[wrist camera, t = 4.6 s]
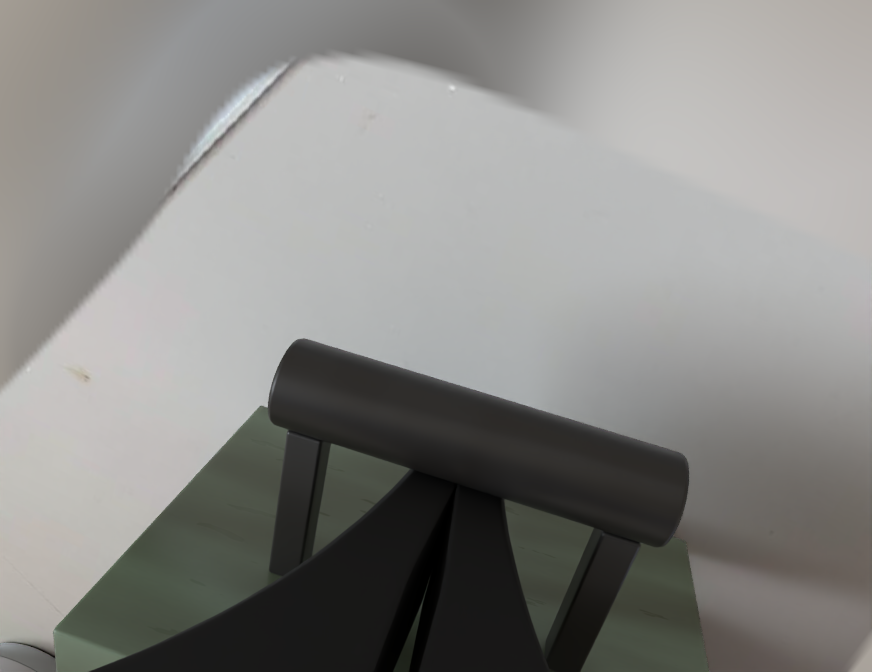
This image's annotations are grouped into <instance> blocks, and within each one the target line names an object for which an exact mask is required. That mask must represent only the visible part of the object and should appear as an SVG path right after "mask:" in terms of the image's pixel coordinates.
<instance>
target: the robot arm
mask: <svg viewBox="0 0 872 672" xmlns="http://www.w3.org/2000/svg"><path fill="white" fill-rule="evenodd" d="M427 585H428V586H427ZM426 588H427V589H426ZM425 592H426V593H425ZM424 595H425V596H424ZM423 598H424V600H423ZM422 601H423V604H422ZM421 604H422V609H421V614H420V619H419V624H418V629H417V634H416V639H415V643H414V648H413V653H412V658H411V663H410V668H409V672H550V669H549V667H548V664H547V662H546V659H545V657H544V654H543V651H542V649H541V646H540V643H539V641H538V638H537V635H536V632H535V629H534V626H533V623H532V620H531V617H530V614H529V610H528V607H527V604H526V600H525V597H524V594H523V590H522V587H521V583H520V579H519V575H518V571H517V567H516V563H515V558H514V554H513V550H512V545H511V541H510V535H509V530H508V524H507V517H506V511H505V502H504V499H503V498H500V497H496V496H493V495H490V494H487V493H484V492H481V491H478V490H475V489H472V488H468V487H465V486H462V485H459V484H456V483H453V482H450V481H447V480H444V479H440V478H437V477H434V476H431V475H428V474H425V473H422V472H419V471H416V470H412V469H410V470H409V471H408V472H407V473H406V474H405V475H404V476H403V477H402V479H401V480H400V481H399V482H398V483H397V484H396V485H395V486H394V487H393V488H392V489H391V490H390V491H389V492H388V493H387V494H386V495H385V496H384V497H383V498H381V499H380V500H379V501H378V502H377V503H376V504H375V505H374V506H373V507H372V508H371V509H370V510H369V511H368V512H367V513H365V514H364V515H363V516H362V517H361V518H360V519H359V520H357V521H356V522H355V523H354V524H352V525H351V526H350V527H349V528H348V529H346V530H345V531H344V532H343V533H341V534H340V535H339V536H338V537H336V538H335V539H334V540H333V541H332V542H330V543H329V544H328V545H326V546H325V547H324V548H322V549H321V550H320V551H318V552H317V553H316V554H314V555H313V556H312V557H310V558H309V559H307V560H306V561H304V562H303V563H302V564H300V565H299V566H297V567H296V568H294V569H293V570H291V571H290V572H288V573H287V574H285V575H284V576H282V577H281V578H279V579H277V580H276V581H274V582H273V583H271V584H269V585H268V586H266V587H264V588H263V589H261V590H259V591H257V592H256V593H254V594H252V595H251V596H249V597H247V598H246V599H244V600H242V601H241V602H239V603H237V604H235V605H233V606H232V607H230V608H228V609H226V610H224V611H222V612H221V613H219V614H217V615H215V616H213V617H211V618H209V619H207V620H205V621H203V622H200V623H198V624H196V625H194V626H192V627H190V628H188V629H186V630H184V631H182V632H180V633H178V634H176V635H174V636H172V637H170V638H168V639H166V640H164V641H161V642H159V643H157V644H155V645H153V646H150V647H148V648H146V649H144V650H141V651H139V652H136V653H134V654H131V655H129V656H126V657H124V658H121V659H119V660H116V661H114V662H111V663H109V664H106V665H104V666H101V667H99V668H96V669H94V670H91V671H89V672H393V671H394V668H395V666H396V664H397V661H398V659H399V656H400V654H401V652H402V649H403V647H404V644H405V642H406V640H407V637H408V635H409V632H410V630H411V628H412V625H413V623H414V620H415V618H416V616H417V613H418V611H419V608H420V606H421Z"/></svg>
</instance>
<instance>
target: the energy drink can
mask: <svg viewBox="0 0 872 672" xmlns="http://www.w3.org/2000/svg"><path fill="white" fill-rule="evenodd" d="M0 672H56V660H55V658H53V657H52V656H50V655H49V654H47V653H44V652H42V651H40V650H38V649H36V648H33V647H30V646H27V645H23V644H18V643H0Z"/></svg>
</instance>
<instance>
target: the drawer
mask: <svg viewBox="0 0 872 672" xmlns="http://www.w3.org/2000/svg"><path fill="white" fill-rule="evenodd" d="M410 469H412V470H416V471H419V472H422V473H425V474H428V475H431V476H434V477H437V478H440V479H444V480H447V481H450V482H453V483H456V484H459V485H462V486H465V487H468V488H472V489H475V490H478V491H481V492H484V493H487V494H490V495H493V496H496V497H500V498H503V499H504V502H505V511H506V517H507V524H508V530H509V535H510V541H511V545H512V550H513V554H514V558H515V563H516V567H517V571H518V575H519V579H520V583H521V587H522V590H523V594H524V597H525V600H526V604H527V607H528V610H529V614H530V617H531V620H532V623H533V626H534V629H535V632H536V635H537V638H538V641H539V643H540V646H541V649H542V651H543V654H544V657H545V659H546V662H547V664H548V667H549V669H550V672H709V668H708V663H707V657H706V652H705V646H704V640H703V635H702V629H701V624H700V618H699V612H698V607H697V601H696V596H695V590H694V584H693V579H692V573H691V568H690V562H689V556H688V551H687V545H686V542H685V541H684V540H681V539H678V538H675V537H673V535H674V533H675V531H676V529H677V527H678V525H679V523H680V520H681V517H682V515H683V511H684V508H685V504H686V499H687V494H688V486H689V467H688V462H687V459H686V458H685V456H683V455H682V454H681V453H679V452H676V451H673V450H669V449H666V448H663V447H660V446H656V445H653V444H650V443H646V442H643V441H640V440H637V439H633V438H630V437H627V436H623V435H620V434H617V433H614V432H610V431H607V430H604V429H600V428H597V427H594V426H591V425H587V424H584V423H581V422H577V421H574V420H571V419H568V418H564V417H561V416H558V415H554V414H551V413H548V412H545V411H541V410H538V409H535V408H531V407H528V406H525V405H522V404H518V403H515V402H512V401H508V400H505V399H502V398H499V397H495V396H492V395H489V394H485V393H482V392H479V391H476V390H472V389H469V388H466V387H462V386H459V385H456V384H453V383H449V382H446V381H443V380H439V379H436V378H433V377H430V376H426V375H423V374H420V373H416V372H413V371H410V370H407V369H403V368H400V367H397V366H393V365H390V364H387V363H384V362H380V361H377V360H374V359H370V358H367V357H364V356H361V355H357V354H354V353H351V352H347V351H344V350H341V349H338V348H334V347H331V346H328V345H324V344H321V343H318V342H315V341H311V340H308V339H298V340H296V341H295V342H293V343H292V345H291V346H290V347H289V348H288V350H287V351H286V353H285V354H284V356H283V358H282V360H281V362H280V364H279V366H278V368H277V371H276V373H275V376H274V379H273V382H272V385H271V390H270V394H269V402H268V408H267V407H264V406H260V407H259V408H258V409H257V410H256V411H255V412H254V413H253V414H252V415H251V416H250V418H249V419H248V420H247V421H246V422H245V423H244V424H243V425H242V426H241V427H240V428H239V429H238V431H237V432H236V433H235V434H234V435H233V436H232V437H231V438H230V439H229V440H228V441H227V442H226V444H225V445H224V446H223V447H222V448H221V449H220V450H219V451H218V452H217V453H216V454H215V455H214V457H213V458H212V459H211V460H210V461H209V462H208V463H207V464H206V465H205V466H204V467H203V468H202V470H201V471H200V472H199V473H198V474H197V475H196V476H195V477H194V478H193V479H192V480H191V481H190V483H189V484H188V485H187V486H186V487H185V488H184V489H183V490H182V491H181V492H180V493H179V494H178V495H177V497H176V498H175V499H174V500H173V501H172V502H171V503H170V504H169V505H168V506H167V507H166V508H165V510H164V511H163V512H162V513H161V514H160V515H159V516H158V517H157V518H156V519H155V520H154V521H153V523H152V524H151V525H150V526H149V527H148V528H147V529H146V530H145V531H144V532H143V533H142V534H141V536H140V537H139V538H138V539H137V540H136V541H135V542H134V543H133V544H132V545H131V546H130V547H129V549H128V550H127V551H126V552H125V553H124V554H123V555H122V556H121V557H120V558H119V559H118V560H117V562H116V563H115V564H114V565H113V566H112V567H111V568H110V569H109V570H108V571H107V572H106V573H105V575H104V576H103V577H102V578H101V579H100V580H99V581H98V582H97V583H96V584H95V585H94V586H93V588H92V589H91V590H90V591H89V592H88V593H87V594H86V595H85V596H84V597H83V598H82V599H81V601H80V602H79V603H78V604H77V605H76V606H75V607H74V608H73V609H72V610H71V611H70V612H69V614H68V615H67V616H66V617H65V618H64V619H63V620H62V621H61V622H60V623H59V624H58V625H57V626H56V628H55V629H54V631H53V636H54V648H55V660H56V672H89V671H91V670H94V669H96V668H99V667H101V666H104V665H106V664H109V663H111V662H114V661H116V660H119V659H121V658H124V657H126V656H129V655H131V654H134V653H136V652H139V651H141V650H144V649H146V648H148V647H150V646H153V645H155V644H157V643H159V642H161V641H164V640H166V639H168V638H170V637H172V636H174V635H176V634H178V633H180V632H182V631H184V630H186V629H188V628H190V627H192V626H194V625H196V624H198V623H200V622H203V621H205V620H207V619H209V618H211V617H213V616H215V615H217V614H219V613H221V612H222V611H224V610H226V609H228V608H230V607H232V606H233V605H235V604H237V603H239V602H241V601H242V600H244V599H246V598H247V597H249V596H251V595H252V594H254V593H256V592H257V591H259V590H261V589H263V588H264V587H266V586H268V585H269V584H271V583H273V582H274V581H276V580H277V579H279V578H281V577H282V576H284V575H285V574H287V573H288V572H290V571H291V570H293V569H294V568H296V567H297V566H299V565H300V564H302V563H303V562H304V561H306V560H307V559H309V558H310V557H312V556H313V555H314V554H316V553H317V552H318V551H320V550H321V549H322V548H324V547H325V546H326V545H328V544H329V543H330V542H332V541H333V540H334V539H335V538H336V537H338V536H339V535H340V534H341V533H343V532H344V531H345V530H346V529H348V528H349V527H350V526H351V525H352V524H354V523H355V522H356V521H357V520H359V519H360V518H361V517H362V516H363V515H364V514H365V513H367V512H368V511H369V510H370V509H371V508H372V507H373V506H374V505H375V504H376V503H377V502H378V501H379V500H380V499H381V498H383V497H384V496H385V495H386V494H387V493H388V492H389V491H390V490H391V489H392V488H393V487H394V486H395V485H396V484H397V483H398V482H399V481H400V480H401V479H402V477H403V476H404V475H405V474H406V473H407V472H408V471H409V470H410ZM427 586H428V585H427ZM426 589H427V588H426ZM425 593H426V592H425ZM424 596H425V595H424ZM423 600H424V598H423ZM422 604H423V601H422ZM422 604H421V606H420V608H419V611H418V613H417V616H416V618H415V620H414V623H413V625H412V628H411V630H410V632H409V635H408V637H407V640H406V642H405V644H404V647H403V649H402V652H401V654H400V656H399V659H398V661H397V664H396V666H395V668H394V671H393V672H409V668H410V663H411V658H412V653H413V648H414V643H415V639H416V634H417V629H418V624H419V619H420V614H421V609H422Z"/></svg>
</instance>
